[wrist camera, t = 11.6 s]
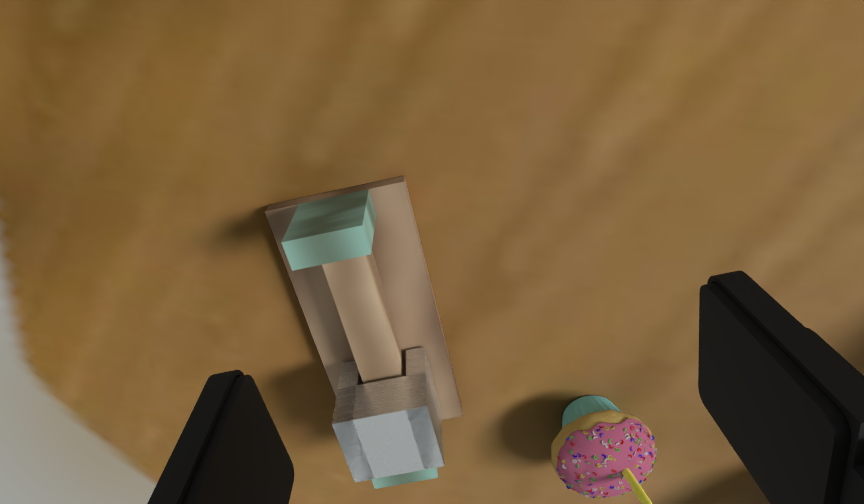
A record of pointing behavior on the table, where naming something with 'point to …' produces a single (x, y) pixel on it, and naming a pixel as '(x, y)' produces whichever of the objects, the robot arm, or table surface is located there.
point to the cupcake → (602, 450)
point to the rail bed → (396, 283)
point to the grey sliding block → (389, 420)
